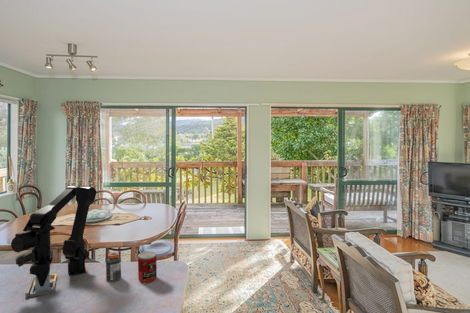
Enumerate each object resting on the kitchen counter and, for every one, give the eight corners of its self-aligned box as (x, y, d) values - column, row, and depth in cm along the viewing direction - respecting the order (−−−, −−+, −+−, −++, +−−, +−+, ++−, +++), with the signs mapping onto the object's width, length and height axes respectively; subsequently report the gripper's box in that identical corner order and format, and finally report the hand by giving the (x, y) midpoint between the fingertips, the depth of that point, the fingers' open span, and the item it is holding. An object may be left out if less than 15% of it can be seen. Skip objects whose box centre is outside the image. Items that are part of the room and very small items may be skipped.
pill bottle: (106, 277, 127) (105, 252, 127) (120, 275, 130) (120, 250, 129) (106, 283, 122) (105, 257, 121) (121, 280, 124) (120, 254, 124)
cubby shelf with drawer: (56, 276, 129) (56, 272, 129) (53, 292, 114) (53, 287, 114) (31, 280, 124) (31, 276, 124) (25, 298, 110) (25, 293, 110)
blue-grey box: (50, 286, 119) (49, 268, 119) (49, 291, 115) (48, 272, 115) (37, 289, 117) (36, 270, 117) (35, 294, 113) (35, 275, 113)
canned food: (142, 285, 120) (142, 259, 120) (135, 278, 126) (134, 253, 126) (159, 279, 125) (159, 254, 125) (151, 273, 131) (151, 249, 131)
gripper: (21, 239, 120) (22, 276, 120) (12, 254, 103) (13, 297, 104) (53, 235, 125) (53, 271, 126) (48, 249, 109) (50, 290, 109)
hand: (43, 281), depth 116 cm, fingers open, 8 cm apart
